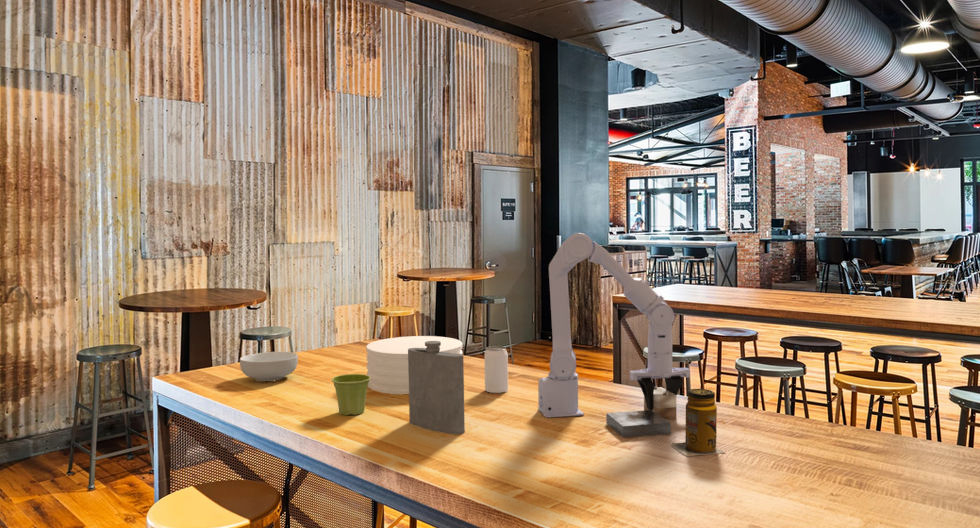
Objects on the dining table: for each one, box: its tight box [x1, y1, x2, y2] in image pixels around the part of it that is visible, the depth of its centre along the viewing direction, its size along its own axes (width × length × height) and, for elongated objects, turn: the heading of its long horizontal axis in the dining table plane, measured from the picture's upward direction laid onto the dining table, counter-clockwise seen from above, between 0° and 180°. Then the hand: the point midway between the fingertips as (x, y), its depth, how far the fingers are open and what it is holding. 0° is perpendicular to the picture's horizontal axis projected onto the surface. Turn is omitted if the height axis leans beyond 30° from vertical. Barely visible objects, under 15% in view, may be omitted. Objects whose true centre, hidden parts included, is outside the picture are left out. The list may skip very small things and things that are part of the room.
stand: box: [605, 409, 672, 438], centre depth 148 cm, size 11×10×2 cm
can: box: [483, 345, 509, 394], centre depth 182 cm, size 6×6×12 cm
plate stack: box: [366, 335, 464, 395], centre depth 194 cm, size 28×28×12 cm
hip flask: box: [408, 341, 466, 436], centre depth 150 cm, size 16×4×20 cm, turn 52°
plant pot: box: [331, 373, 371, 416], centre depth 163 cm, size 9×9×9 cm
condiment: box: [669, 388, 726, 457], centre depth 134 cm, size 7×8×12 cm
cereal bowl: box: [239, 351, 299, 383], centre depth 200 cm, size 17×17×7 cm
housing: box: [643, 386, 678, 421], centre depth 158 cm, size 5×8×6 cm, turn 10°
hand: (659, 407), depth 158 cm, fingers closed on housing, 5 cm apart
